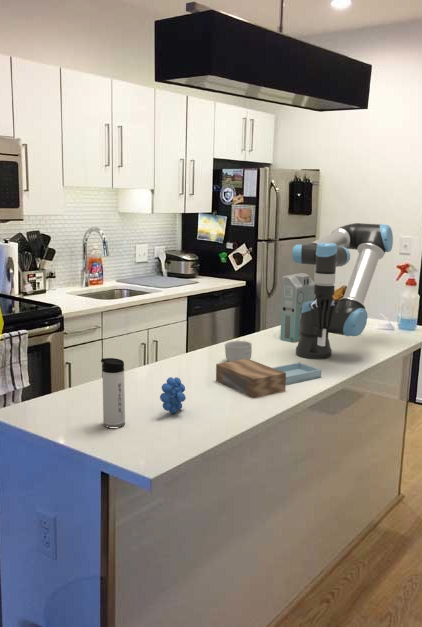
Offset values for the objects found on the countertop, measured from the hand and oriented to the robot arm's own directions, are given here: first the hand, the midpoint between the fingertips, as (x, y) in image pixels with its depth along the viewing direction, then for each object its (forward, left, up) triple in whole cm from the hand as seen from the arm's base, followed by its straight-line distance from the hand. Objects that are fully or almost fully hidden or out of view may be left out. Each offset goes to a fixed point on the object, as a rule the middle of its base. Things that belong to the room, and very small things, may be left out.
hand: (321, 345), depth 238 cm
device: (-30, -46, -11) cm, 56 cm away
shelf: (+34, 0, -10) cm, 36 cm away
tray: (+15, 0, -10) cm, 18 cm away
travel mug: (+91, +8, -11) cm, 92 cm away
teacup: (+18, -28, -11) cm, 35 cm away
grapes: (+71, +10, -11) cm, 73 cm away
